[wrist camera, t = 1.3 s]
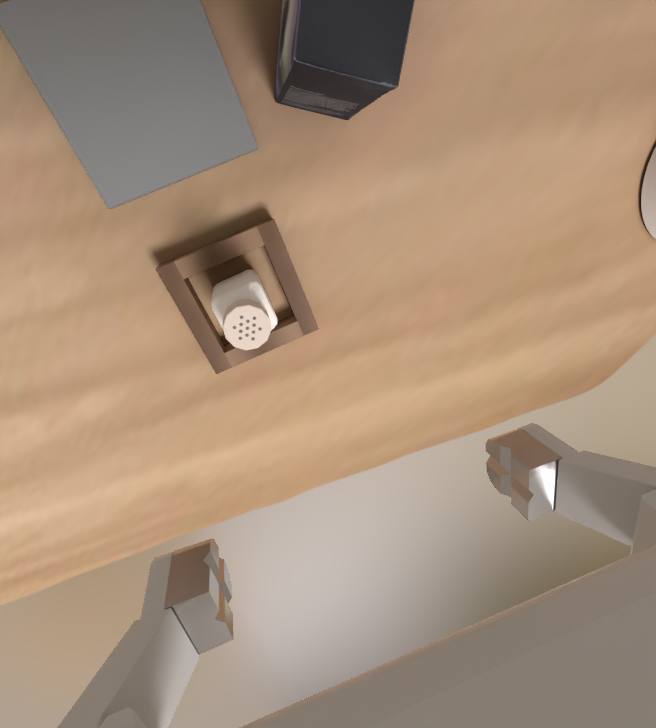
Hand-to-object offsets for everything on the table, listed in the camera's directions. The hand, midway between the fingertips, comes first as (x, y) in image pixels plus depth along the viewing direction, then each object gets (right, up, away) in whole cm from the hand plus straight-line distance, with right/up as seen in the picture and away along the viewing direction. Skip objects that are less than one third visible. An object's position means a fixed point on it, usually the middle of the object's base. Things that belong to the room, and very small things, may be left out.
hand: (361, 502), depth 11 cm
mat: (-14, +23, +16) cm, 32 cm away
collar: (-8, +10, +23) cm, 27 cm away
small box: (-1, +28, +17) cm, 33 cm away
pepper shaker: (-9, +10, +23) cm, 27 cm away
